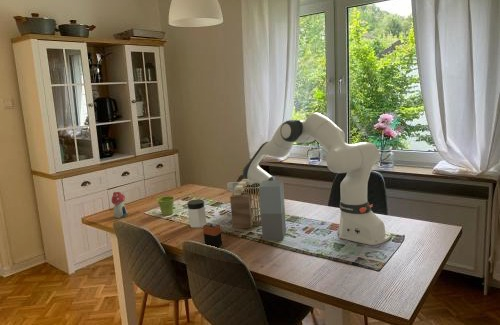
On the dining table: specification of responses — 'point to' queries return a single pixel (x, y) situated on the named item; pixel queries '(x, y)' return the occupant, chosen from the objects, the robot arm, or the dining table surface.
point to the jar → (196, 213)
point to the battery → (212, 234)
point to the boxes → (262, 210)
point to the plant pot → (166, 204)
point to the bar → (240, 187)
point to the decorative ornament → (119, 205)
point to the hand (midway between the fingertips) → (243, 183)
